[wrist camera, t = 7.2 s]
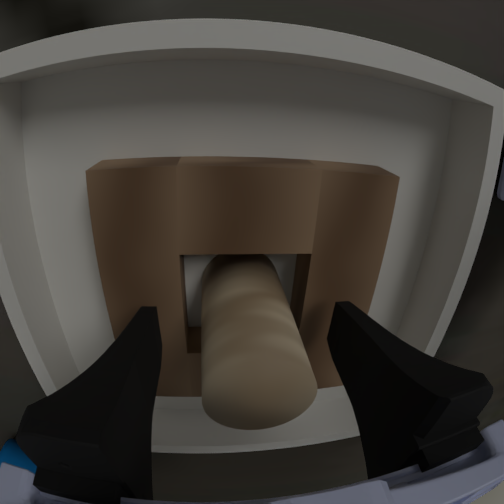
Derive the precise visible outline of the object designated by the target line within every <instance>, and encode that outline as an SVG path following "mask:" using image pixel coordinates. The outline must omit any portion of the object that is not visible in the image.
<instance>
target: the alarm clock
mask: <svg viewBox="0 0 504 504" xmlns="http://www.w3.org/2000/svg"><path fill="white" fill-rule="evenodd" d="M2 462H6V463H8V464H11V465H15V466H18V467H21V468H24V469H27V470H29V471H31V472H33V473H34V474H35V472H36V468H37V466H36V465H35V464H34V463H33V462H32V461H31V460H30V459H29V457H28V456H27V455H26V454H25V453H24V452H23V451H22V450H21V448H20V447H19V445H18V444H17V441H16V440H15V439H9V440H8V441H6V443H5V444H4V446H3V447H2V449H1V451H0V467H1V463H2Z"/></svg>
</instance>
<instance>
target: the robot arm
mask: <svg viewBox="0 0 504 504" xmlns="http://www.w3.org/2000/svg"><path fill="white" fill-rule="evenodd" d="M497 196H498V198H499V199H501V200H503V201H504V159H503V164H502V170H501V175H500V180H499V185H498V189H497ZM327 342H328V346H329V350H330V353H331V357H332V360H333V362H334V365H335V367H336V369H337V372H338V374H339V376H340V379H341V381H342V383H343V385H344V388H345V390H346V392H347V395H348V397H349V399H350V402H351V405H352V407H353V411H354V414H355V418H356V421H357V425H358V429H359V433H360V437H361V441H362V446H363V451H364V456H365V461H366V467H367V474H368V480H365V481H361V482H357V483H353V484H349V485H345V486H340V487H336V488H331V489H326V490H321V491H316V492H310V493H305V494H298V495H292V496H285V497H277V498H268V499H258V500H246V501H228V502H172V501H155V500H153V493H152V470H151V439H152V418H153V410H154V404H155V398H156V392H157V387H158V381H159V376H160V370H161V361H162V339H161V333H160V326H159V319H158V312H157V306H142V307H140V308H139V310H138V311H137V313H136V314H135V315H134V317H133V318H132V319H131V321H130V322H129V323H128V325H127V326H126V327H125V329H124V330H123V331H122V332H121V334H120V335H119V336H118V337H117V339H116V340H115V341H114V342H113V343H112V344H111V345H110V347H109V348H108V349H107V350H106V351H105V352H104V353H103V354H102V355H101V356H100V357H99V358H98V359H97V360H96V361H95V362H94V363H93V364H92V365H91V366H90V367H89V368H88V369H86V370H85V371H84V372H83V373H81V374H80V375H79V376H77V377H76V378H75V379H74V380H72V381H71V382H70V383H68V384H67V385H65V386H64V387H62V388H61V389H59V390H57V391H56V392H54V393H52V394H51V395H49V396H47V397H45V398H43V399H41V400H39V401H37V402H35V403H33V404H31V405H29V406H27V408H26V410H25V412H24V415H23V417H22V420H21V423H20V426H19V429H18V432H17V435H16V441H17V444H18V445H19V447H20V448H21V450H22V451H23V452H24V453H25V454H26V455H27V456H28V457H29V459H30V460H31V461H32V462H33V463H34V464H35V465H36V466H37V468H36V472H35V474H34V473H33V472H31V471H29V470H27V469H24V468H21V467H18V466H15V465H11V464H8V463H6V462H2V463H1V467H0V504H469V503H471V502H473V501H474V500H476V499H477V498H479V497H481V496H483V495H484V494H486V493H487V492H489V491H491V490H492V489H494V488H495V487H496V486H497V485H498V484H500V483H501V482H502V481H504V421H503V420H499V421H497V422H495V423H493V424H491V425H489V426H487V427H486V428H484V429H483V430H482V431H480V432H479V430H478V428H477V426H479V424H480V422H479V420H478V419H477V416H478V415H479V413H480V412H481V411H482V410H483V408H484V407H485V406H486V404H487V403H488V401H489V400H490V398H491V396H492V394H493V387H492V385H491V384H490V382H489V381H488V380H487V378H486V377H485V375H484V374H483V373H479V372H475V371H471V370H467V369H463V368H460V367H457V366H454V365H451V364H448V363H446V362H443V361H441V360H438V359H436V358H434V357H432V356H430V355H427V354H425V353H423V352H421V351H420V350H418V349H416V348H414V347H413V346H411V345H409V344H407V343H406V342H404V341H403V340H401V339H400V338H398V337H397V336H395V335H394V334H392V333H391V332H389V331H388V330H387V329H385V328H384V327H383V326H381V325H380V324H379V323H377V322H376V321H375V320H373V319H372V318H371V317H369V316H368V315H367V314H366V313H364V312H363V311H362V310H361V309H359V308H358V307H357V306H355V305H354V304H353V303H351V302H350V301H340V302H335V306H334V310H333V315H332V319H331V323H330V327H329V331H328V335H327Z"/></svg>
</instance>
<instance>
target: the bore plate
mask: <svg viewBox="0 0 504 504" xmlns="http://www.w3.org/2000/svg"><path fill="white" fill-rule="evenodd" d="M85 172H86V183H87V193H88V202H89V210H90V218H91V225H92V232H93V239H94V245H95V251H96V257H97V263H98V268H99V273H100V278H101V283H102V288H103V293H104V297H105V302H106V306H107V311H108V315H109V319H110V323H111V327H112V331H113V335H114V339H115V340H116V339H117V337H118V336H119V335H120V334H121V332H122V331H123V330H124V329H125V327H126V326H127V325H128V323H129V322H130V321H131V319H132V318H133V317H134V315H135V314H136V313H137V311H138V310H139V308H140V307H142V306H157V312H158V319H159V326H160V333H161V339H162V361H161V370H160V376H159V381H158V387H157V392H156V396H165V397H202V386H201V327H188V315H187V301H186V286H185V269H184V255H209V254H297V258H296V265H295V273H294V281H293V288H292V295H291V302H290V309H291V312H292V315H293V317H294V320H295V323H296V326H297V329H298V331H299V334H300V337H301V340H302V342H303V345H304V348H305V351H306V354H307V356H308V359H309V362H310V365H311V368H312V371H313V373H314V376H315V379H316V382H317V389H322V388H329V387H336V386H343V383H342V381H341V379H340V376H339V374H338V372H337V369H336V367H335V365H334V362H333V360H332V357H331V353H330V350H329V346H328V342H327V335H328V331H329V327H330V323H331V319H332V315H333V310H334V306H335V302H340V301H350V302H351V303H353V304H354V305H355V306H357V307H358V308H359V309H361V310H362V311H363V312H364V313H366V314H367V315H368V312H369V309H370V305H371V302H372V298H373V295H374V291H375V288H376V284H377V280H378V276H379V273H380V269H381V265H382V261H383V257H384V253H385V248H386V244H387V240H388V235H389V231H390V226H391V222H392V217H393V212H394V207H395V202H396V196H397V191H398V185H399V180H400V177H399V176H397V175H395V174H393V173H391V172H389V171H387V170H385V169H383V168H381V167H379V166H375V165H365V164H356V163H345V162H334V161H321V160H306V159H290V158H268V157H232V156H184V157H148V158H127V159H111V160H101V161H100V162H98V163H97V164H95V165H94V166H92V167H91V168H89V169H88V170H86V171H85Z"/></svg>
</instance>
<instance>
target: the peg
mask: <svg viewBox="0 0 504 504" xmlns="http://www.w3.org/2000/svg"><path fill="white" fill-rule="evenodd" d="M201 386H202V406H203V409H204V411H205V412H206V414H207V415H208V416H209V417H210V418H211V419H213V420H214V421H215V422H217V423H219V424H221V425H224V426H227V427H230V428H234V429H241V430H260V429H267V428H272V427H276V426H279V425H282V424H284V423H287V422H289V421H291V420H293V419H295V418H296V417H298V416H300V415H301V414H302V413H304V412H305V411H306V410H307V409H308V408H309V407H310V406H311V404H312V403H313V401H314V400H315V397H316V395H317V382H316V379H315V376H314V373H313V371H312V368H311V365H310V362H309V359H308V356H307V354H306V351H305V348H304V345H303V342H302V340H301V337H300V334H299V331H298V329H297V326H296V323H295V320H294V317H293V315H292V312H291V309H290V306H289V304H288V301H287V298H286V295H285V293H284V290H283V287H282V285H281V282H280V279H279V276H278V274H277V271H276V268H275V266H274V264H273V263H272V261H271V260H270V259H269V258H268V257H267V256H266V255H264V254H218V255H217V256H216V257H214V258H213V259H212V260H211V261H210V262H209V263H208V265H207V266H206V268H205V270H204V273H203V277H202V308H201Z"/></svg>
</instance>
